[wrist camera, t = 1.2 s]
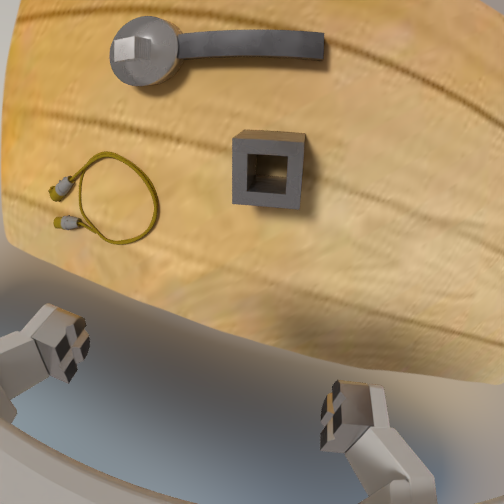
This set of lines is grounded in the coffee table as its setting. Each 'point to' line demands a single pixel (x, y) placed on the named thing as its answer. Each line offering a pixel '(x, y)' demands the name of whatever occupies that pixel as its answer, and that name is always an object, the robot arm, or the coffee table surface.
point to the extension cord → (64, 187)
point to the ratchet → (198, 48)
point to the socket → (260, 186)
